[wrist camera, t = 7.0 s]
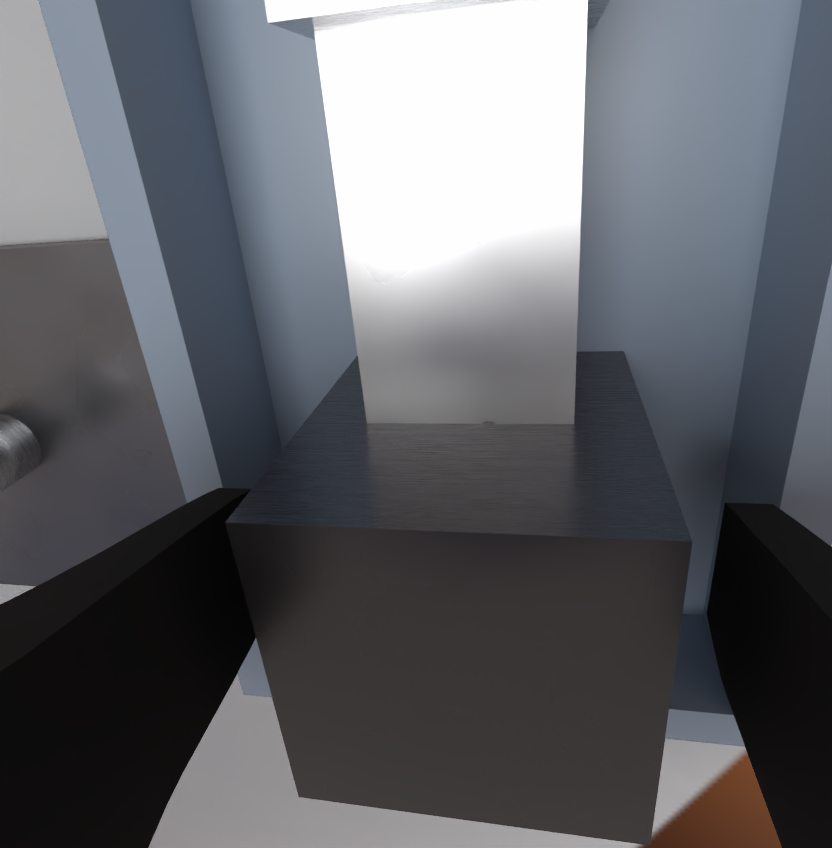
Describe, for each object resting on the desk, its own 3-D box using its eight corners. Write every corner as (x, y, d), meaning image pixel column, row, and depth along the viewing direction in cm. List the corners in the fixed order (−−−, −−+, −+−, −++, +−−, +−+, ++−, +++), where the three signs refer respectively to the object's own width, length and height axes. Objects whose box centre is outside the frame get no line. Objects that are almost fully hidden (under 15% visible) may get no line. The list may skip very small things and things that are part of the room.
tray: (731, 628, 14) (776, 749, 11) (293, 599, 16) (243, 694, 13) (925, -390, 7) (1163, -709, 4) (114, -202, 9) (-61, -336, 6)
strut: (608, 570, 13) (650, 845, 8) (384, 559, 14) (298, 797, 9) (651, -67, 8) (817, -349, 3) (307, -15, 9) (37, -173, 4)
